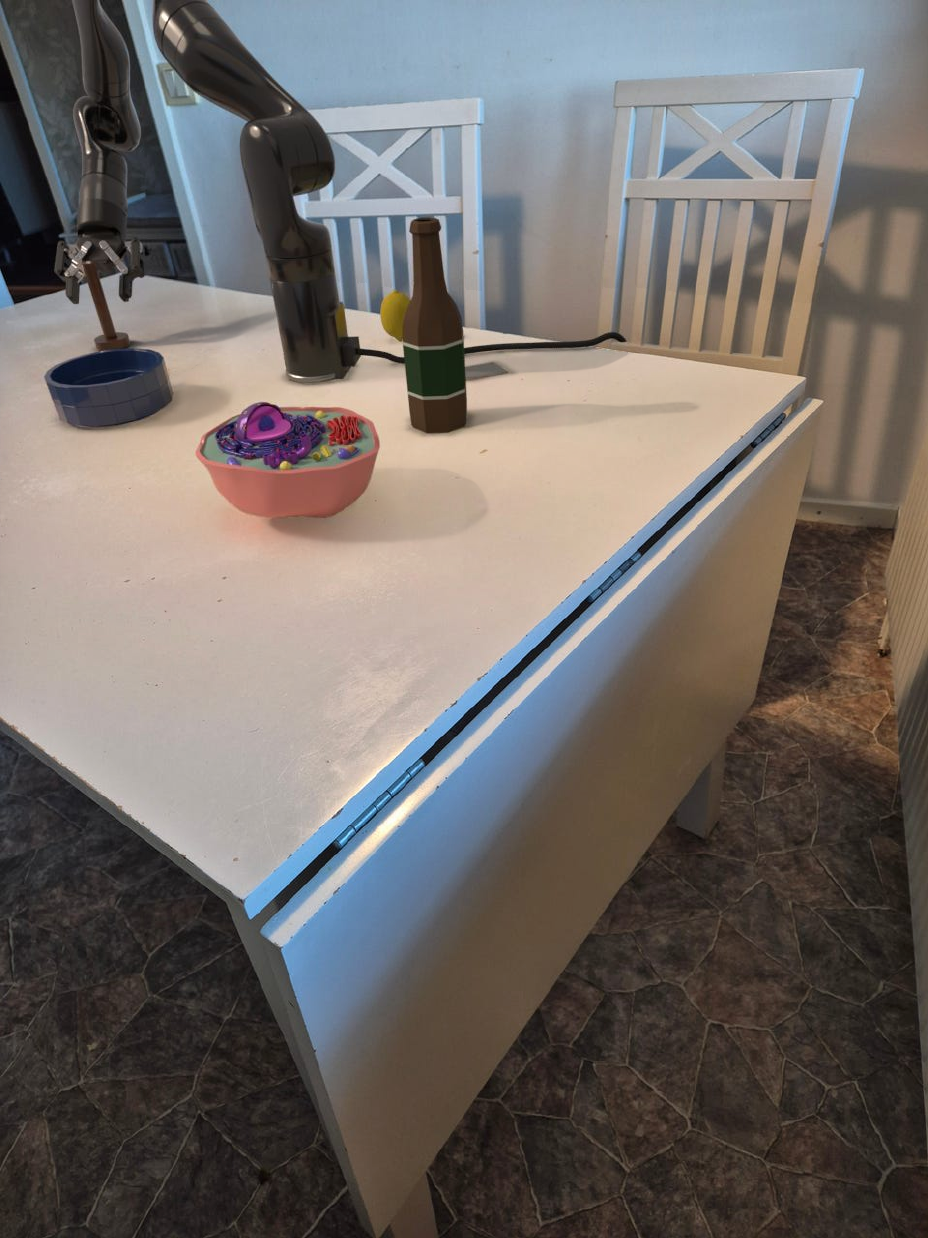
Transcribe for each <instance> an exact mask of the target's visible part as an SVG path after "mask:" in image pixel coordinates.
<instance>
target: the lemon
mask: <svg viewBox="0 0 928 1238" xmlns="http://www.w3.org/2000/svg"><path fill="white" fill-rule="evenodd" d="M410 300H411V298H409V296H407V295H406V294H405V293H403V292H401V291H398V290H397V289H394V290H391V292H390V293H388V294H387V295H386V296H385V297H384V298H383V300H382V301H381V305H380V311H379V312H380V313H379V314H380V315H379V316H380V323H381V326H382V328H383V330H384V331H385V333H386V334H388V335H389V336H390V337H393V338H395V339H396V340H397V341H399V342H401V341H403V334H402V325H403V321H404V317H405V312H406V309H407V306H408V304H409V302H410Z"/></svg>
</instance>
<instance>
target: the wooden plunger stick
mask: <svg viewBox="0 0 928 1238" xmlns="http://www.w3.org/2000/svg"><path fill="white" fill-rule="evenodd" d="M82 267H83V270H84V273H85V276H84V277H85V280H86V282H87V285H88V288H89V292H90V296H91V299H92V301H93V305H94V308H95V311H96V313H97V314H96V316H97V318H98V321H99V324H100V327H101V331H102V334H101V335H98V336H96V337H95V338H94V339H93V342H94V345H95V348H96V351H97V352H100V351H104V350H113V349H128V347H130V346H131V340H130V337H129V334H128V333H127V332H122V331H119V332H117V331H116V329H115V324H114V321H113V319H112V315H111V311H110V309H109V305H108V301H107V299H106V295H105V291H104V288H103V285H102V281H101V278H100V275H99V272H98V271H99V270H97V268H96V265H95V262H94V261H86V262H84V261H82Z"/></svg>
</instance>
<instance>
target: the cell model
mask: <svg viewBox="0 0 928 1238" xmlns="http://www.w3.org/2000/svg"><path fill="white" fill-rule="evenodd" d="M380 446H381V442H380V438H379V434H378V432H377V429H376V427H375V424H374V423H373V421H372V420H370V419H369V418H367V417H364V416H363V415H360V414H359V413H357V412H355V411H353V410H351V409H348V408H345V407H338V406H333V407H332V406H330V407H327V406H326V407H324V406H323V407H322V406H278V405H277V404H275V403H274V404H272V403H271V402H268V401H259V402H255V403H253V404H251V405H249V406H247V407H246V408H244V409H243V410H242V411H241V412H240V413H239V414H236V415H234V416H231V417H230V418H228V419H226V420H225V421H222V422H221V423H219V424H218V425H216V426H214V427H213V428H211V429H210V430H208V431H206V432H205V433H204V434H203V435H202V436H201V438H200V441H199V444H198V446H197V447H196V449H195V457H196V458H197V459H198V460H199V462H200V463H201V464H202V465H203V467H204V468H205V469H206V471H207V472H208V474H209V477H210V479H211V481H212V483H213V486H214V488H215V489H216V491H217V492H218V493H219V494H220V495H221V496H222V497H223V499H225V500H226V501H227V502H228V503H229V504H230V505H232V506H233V508H235V509H236V510H238V511H239V512H240V513H243V514H244V515H248V516H253V517H256V518H261V519H262V518H263V519H279V518H281V519H282V518H290V517H295V518H296V517H297V518H298V517H299V518H301V517H302V518H317V519H322V518H323V519H326V518H331V517H333V516H335V515H338V514H339V513H342V512H343V511H344V510H345V509H347V508H348V507H350V506H351V505H352V504H353V503H355V502H356V501H357V500H358V499H359V498H360V497H362V495H363V494H364V493H365V492H366V491H367V489H368V487H369V485H370V482H371V479H372V476H373V472H374V469H375V466H376V462H377V458H378V454H379V452H380V448H381V447H380Z"/></svg>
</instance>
